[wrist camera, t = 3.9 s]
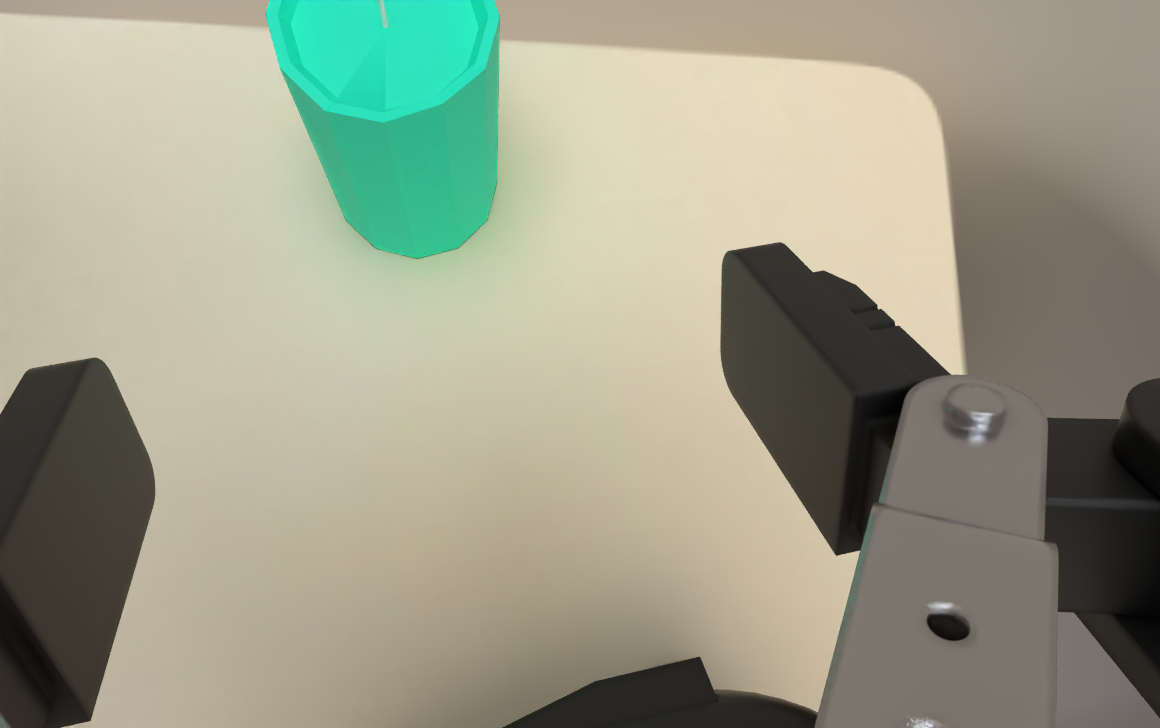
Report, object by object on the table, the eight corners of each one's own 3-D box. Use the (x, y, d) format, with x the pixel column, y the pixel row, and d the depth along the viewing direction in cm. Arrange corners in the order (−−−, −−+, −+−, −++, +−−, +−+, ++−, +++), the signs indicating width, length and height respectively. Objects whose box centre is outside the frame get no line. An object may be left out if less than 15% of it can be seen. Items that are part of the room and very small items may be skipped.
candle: (526, 210, 33) (546, 20, 21) (386, 287, 32) (326, 131, 20) (445, 84, 34) (421, -165, 22) (306, 155, 32) (202, -69, 21)
